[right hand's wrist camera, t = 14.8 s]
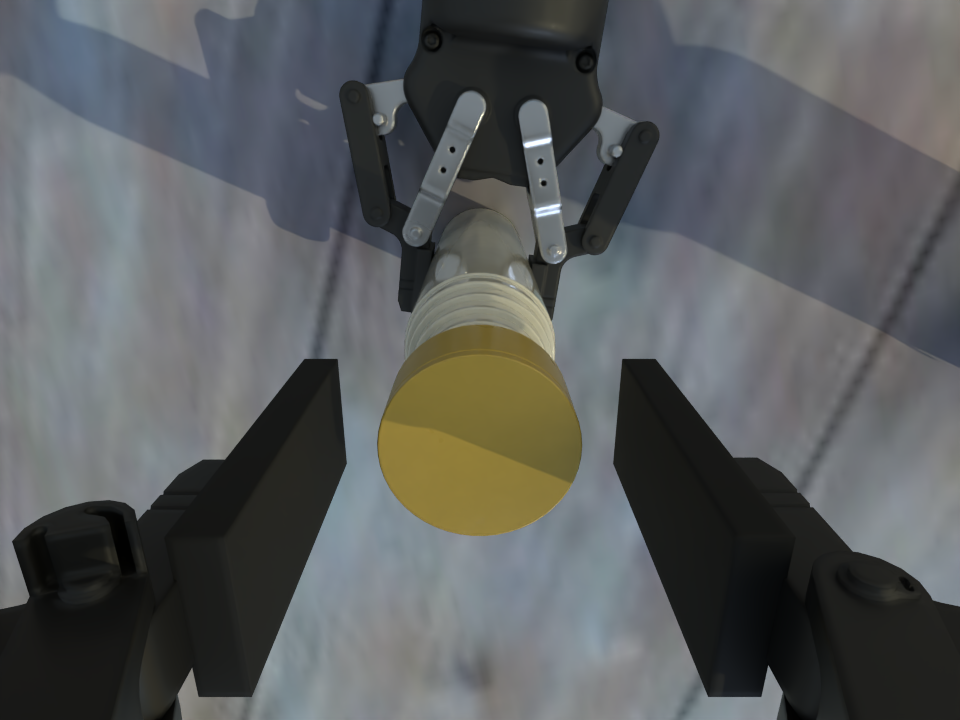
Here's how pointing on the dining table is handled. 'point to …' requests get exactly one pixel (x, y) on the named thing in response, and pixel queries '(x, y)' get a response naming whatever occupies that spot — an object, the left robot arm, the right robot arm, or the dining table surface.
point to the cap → (479, 432)
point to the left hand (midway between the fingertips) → (473, 325)
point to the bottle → (479, 283)
